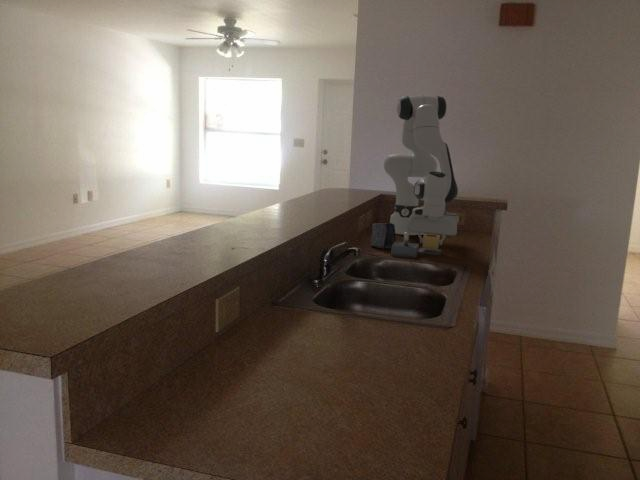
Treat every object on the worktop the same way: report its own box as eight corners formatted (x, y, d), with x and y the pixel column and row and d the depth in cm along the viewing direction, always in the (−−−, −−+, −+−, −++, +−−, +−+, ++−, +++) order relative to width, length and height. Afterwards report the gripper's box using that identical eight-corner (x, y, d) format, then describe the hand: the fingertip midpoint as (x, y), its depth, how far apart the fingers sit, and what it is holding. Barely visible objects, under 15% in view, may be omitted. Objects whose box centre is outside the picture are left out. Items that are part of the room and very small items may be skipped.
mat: (420, 249, 245) (420, 247, 245) (441, 251, 243) (441, 250, 242) (418, 253, 236) (418, 251, 236) (440, 255, 234) (440, 254, 234)
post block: (394, 250, 238) (395, 229, 236) (418, 253, 236) (420, 231, 234) (390, 255, 228) (392, 233, 227) (415, 257, 226) (417, 235, 224)
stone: (398, 252, 244) (386, 248, 236) (378, 252, 250) (366, 248, 242) (400, 225, 246) (388, 220, 238) (380, 226, 252) (368, 221, 244)
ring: (423, 245, 243) (424, 233, 242) (438, 246, 241) (439, 235, 240) (422, 247, 237) (423, 235, 236) (437, 249, 235) (438, 237, 234)
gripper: (459, 212, 237) (456, 245, 239) (410, 208, 242) (407, 240, 244) (459, 214, 231) (455, 247, 233) (408, 209, 236) (405, 242, 238)
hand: (430, 243), depth 239 cm, fingers closed on ring, 6 cm apart
